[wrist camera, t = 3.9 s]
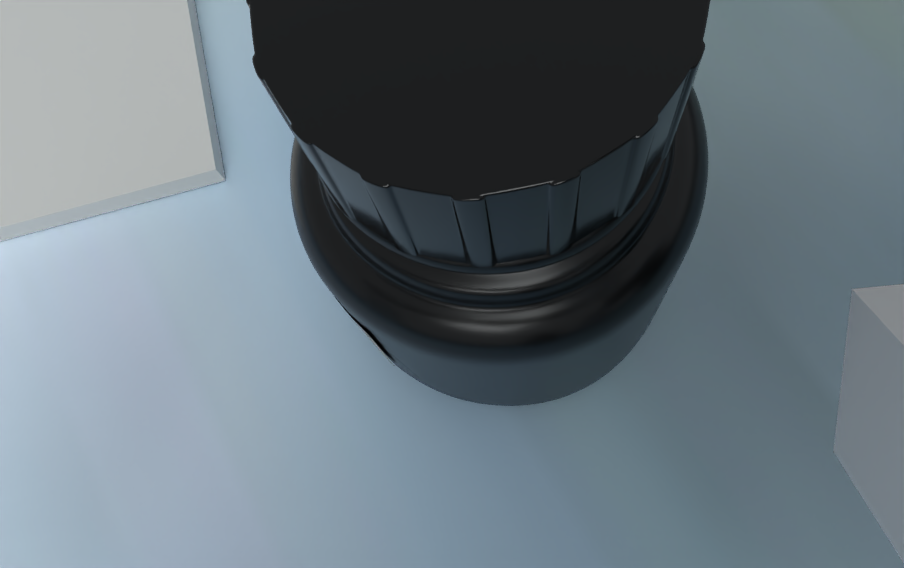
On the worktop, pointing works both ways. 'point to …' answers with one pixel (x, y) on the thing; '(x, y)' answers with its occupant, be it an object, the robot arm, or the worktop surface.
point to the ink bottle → (492, 176)
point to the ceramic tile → (100, 109)
